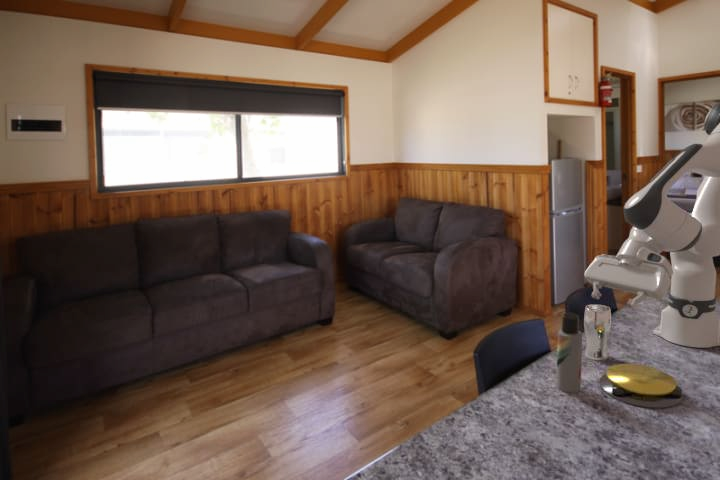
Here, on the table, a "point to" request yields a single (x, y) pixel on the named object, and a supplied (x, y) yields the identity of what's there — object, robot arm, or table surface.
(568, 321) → the lotion bottle
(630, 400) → the levelling base
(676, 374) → the table surface
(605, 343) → the beer glass
